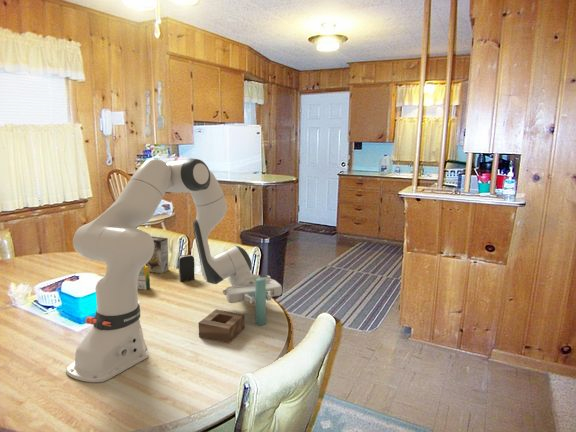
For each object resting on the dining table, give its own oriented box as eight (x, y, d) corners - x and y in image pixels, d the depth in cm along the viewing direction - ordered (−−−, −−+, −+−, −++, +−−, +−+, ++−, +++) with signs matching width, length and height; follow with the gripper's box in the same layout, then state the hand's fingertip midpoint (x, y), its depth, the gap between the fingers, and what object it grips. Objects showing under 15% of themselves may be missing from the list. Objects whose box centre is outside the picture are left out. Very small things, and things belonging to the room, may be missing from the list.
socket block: (228, 343, 126) (228, 328, 125) (199, 336, 130) (198, 322, 129) (244, 328, 136) (244, 314, 135) (216, 322, 140) (216, 309, 139)
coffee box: (145, 271, 191) (143, 239, 188) (153, 267, 197) (151, 235, 194) (161, 273, 188) (159, 240, 185) (169, 269, 194) (167, 237, 191)
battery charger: (192, 276, 185) (191, 253, 182) (195, 279, 181) (194, 255, 179) (177, 279, 181) (176, 255, 179) (180, 282, 178) (179, 257, 176)
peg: (263, 326, 138) (263, 282, 134) (253, 324, 139) (253, 280, 136) (267, 321, 141) (267, 278, 138) (258, 320, 142) (257, 277, 139)
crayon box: (150, 287, 171) (149, 261, 169) (146, 290, 168) (144, 263, 166) (135, 285, 173) (134, 260, 171) (131, 288, 170) (129, 262, 168)
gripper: (221, 282, 145) (232, 295, 132) (273, 274, 153) (288, 287, 141) (221, 298, 146) (232, 313, 134) (273, 290, 154) (287, 303, 142)
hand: (261, 299), depth 137 cm, fingers open, 5 cm apart
